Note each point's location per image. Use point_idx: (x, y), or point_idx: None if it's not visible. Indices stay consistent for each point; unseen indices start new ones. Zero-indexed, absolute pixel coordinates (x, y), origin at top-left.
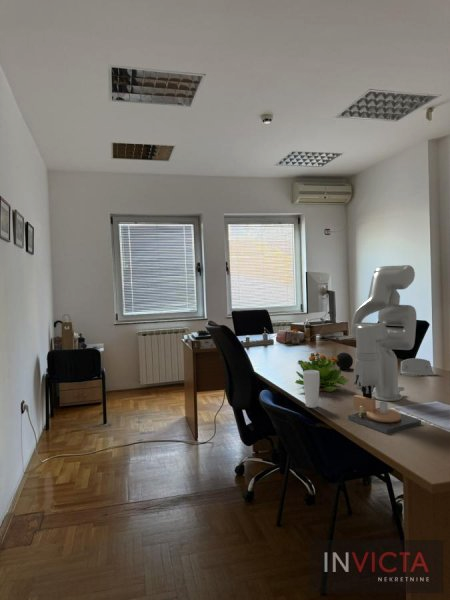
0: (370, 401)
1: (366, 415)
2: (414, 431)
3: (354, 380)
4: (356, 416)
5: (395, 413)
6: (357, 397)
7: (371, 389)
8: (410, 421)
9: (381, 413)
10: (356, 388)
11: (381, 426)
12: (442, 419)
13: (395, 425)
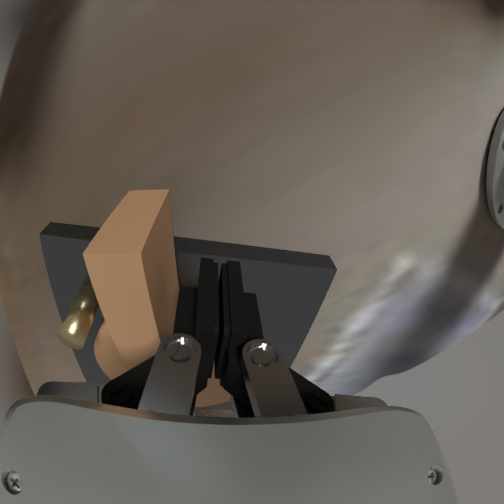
0: None
1: None
2: None
3: (5, 460)
4: (67, 273)
5: (224, 390)
6: (99, 294)
7: (239, 415)
8: (225, 404)
9: None
10: (42, 386)
11: (93, 378)
12: (349, 394)
13: None
